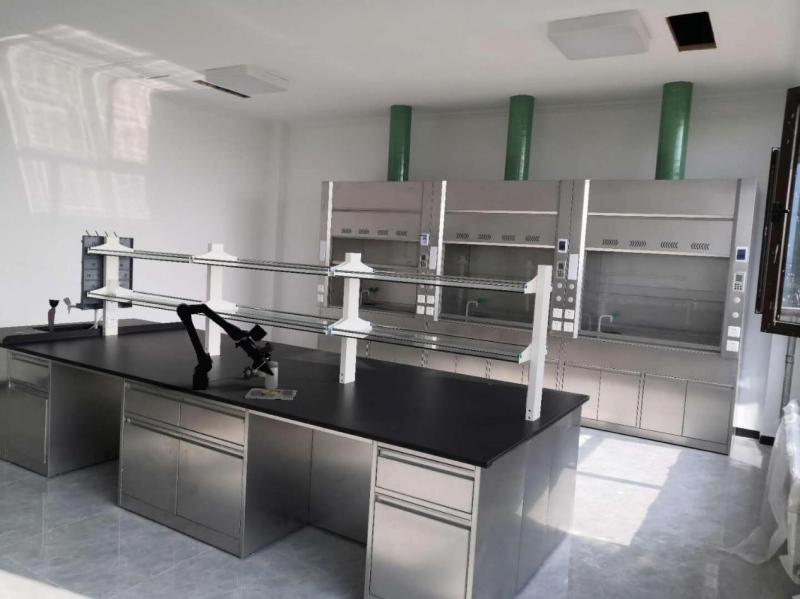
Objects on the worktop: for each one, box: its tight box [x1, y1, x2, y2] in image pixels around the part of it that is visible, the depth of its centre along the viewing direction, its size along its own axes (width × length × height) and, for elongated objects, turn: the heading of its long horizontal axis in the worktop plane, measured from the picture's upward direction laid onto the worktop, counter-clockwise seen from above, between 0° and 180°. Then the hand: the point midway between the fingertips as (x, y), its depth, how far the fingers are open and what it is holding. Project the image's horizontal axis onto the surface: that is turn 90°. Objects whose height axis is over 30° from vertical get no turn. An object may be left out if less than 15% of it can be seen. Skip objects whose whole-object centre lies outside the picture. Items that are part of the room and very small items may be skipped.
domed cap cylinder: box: [264, 360, 279, 389], centre depth 287 cm, size 6×6×12 cm
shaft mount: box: [244, 387, 298, 401], centre depth 274 cm, size 20×14×2 cm
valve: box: [242, 365, 265, 380], centre depth 308 cm, size 7×7×12 cm
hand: (274, 374), depth 287 cm, fingers closed on domed cap cylinder, 6 cm apart
